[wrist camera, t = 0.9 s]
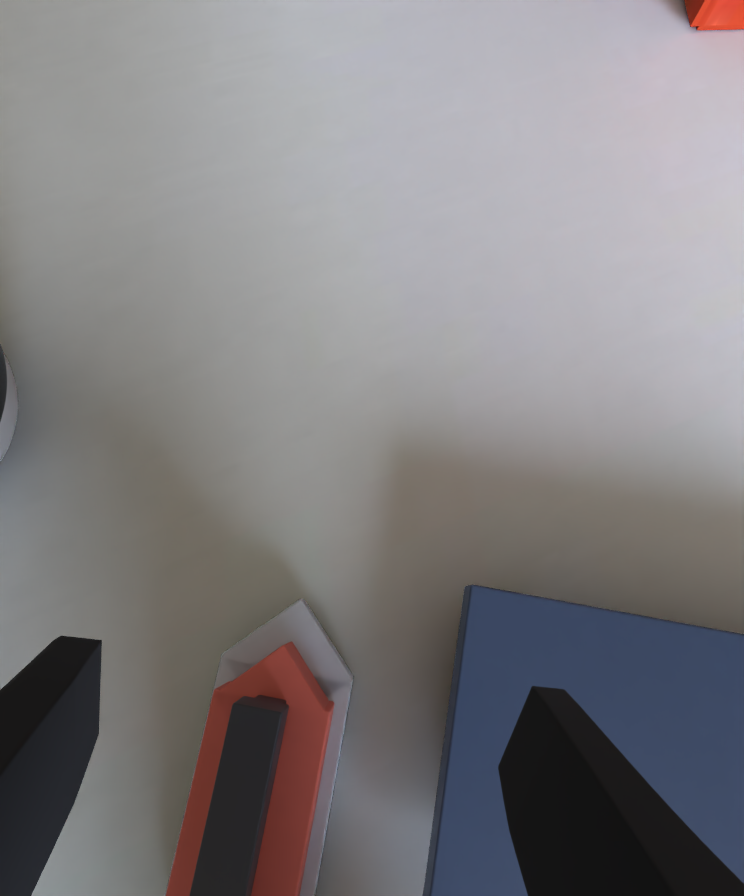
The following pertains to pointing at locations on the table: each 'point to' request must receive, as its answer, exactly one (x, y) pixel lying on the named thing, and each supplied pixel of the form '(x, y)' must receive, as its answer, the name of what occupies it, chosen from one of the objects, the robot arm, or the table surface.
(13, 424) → the black egg-shaped figure
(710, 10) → the file binder
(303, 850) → the iron
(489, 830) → the ironing board
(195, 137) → the table surface
